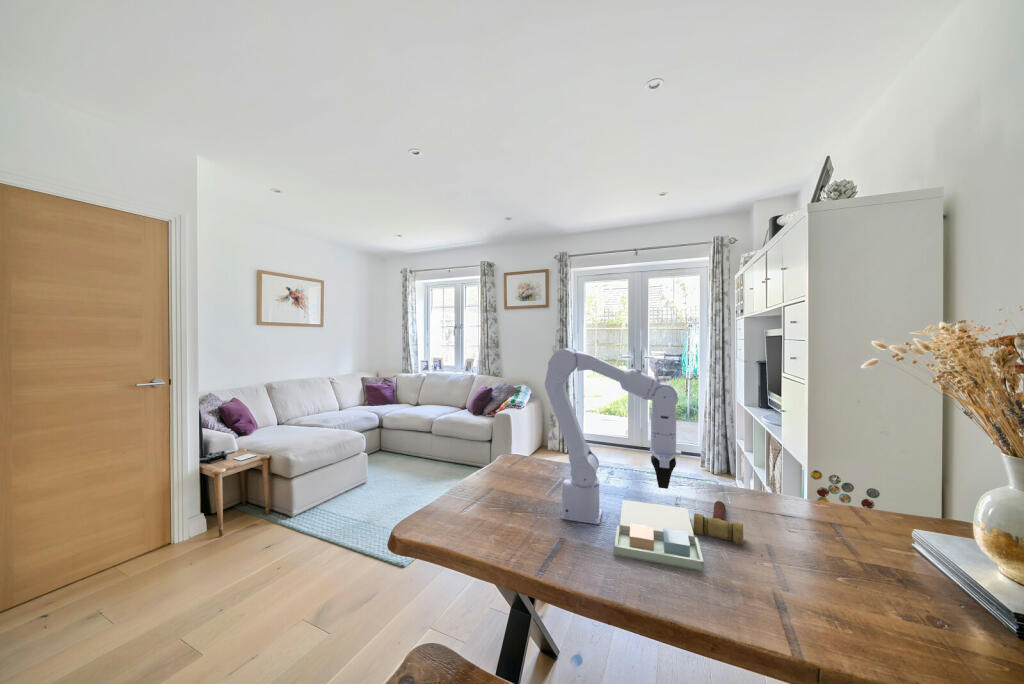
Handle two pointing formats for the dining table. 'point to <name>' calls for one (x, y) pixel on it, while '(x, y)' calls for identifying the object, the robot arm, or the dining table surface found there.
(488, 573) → the dining table surface
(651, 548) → the tile terracotta
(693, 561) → the tray
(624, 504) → the board
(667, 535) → the tile slate
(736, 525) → the gavel
